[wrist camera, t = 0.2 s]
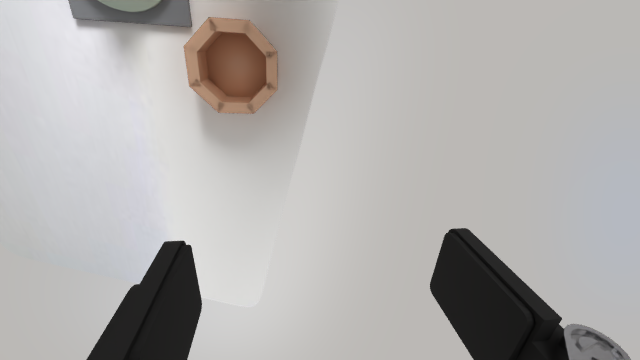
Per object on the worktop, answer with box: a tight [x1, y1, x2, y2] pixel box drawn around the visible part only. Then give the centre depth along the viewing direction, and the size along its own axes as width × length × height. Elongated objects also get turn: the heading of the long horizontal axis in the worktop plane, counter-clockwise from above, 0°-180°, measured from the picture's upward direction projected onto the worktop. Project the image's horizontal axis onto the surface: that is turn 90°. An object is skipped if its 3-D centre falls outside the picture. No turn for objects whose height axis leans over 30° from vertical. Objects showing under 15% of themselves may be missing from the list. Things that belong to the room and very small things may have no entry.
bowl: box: [184, 17, 277, 114], centre depth 32 cm, size 10×10×5 cm
